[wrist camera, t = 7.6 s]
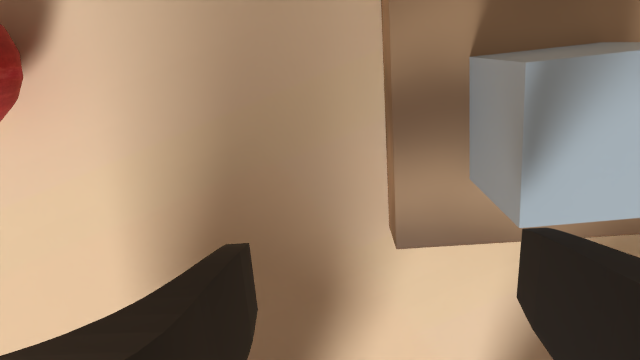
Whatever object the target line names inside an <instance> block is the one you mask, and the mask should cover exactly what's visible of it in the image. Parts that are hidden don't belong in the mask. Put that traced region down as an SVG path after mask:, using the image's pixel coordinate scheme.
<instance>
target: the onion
mask: <svg viewBox="0 0 640 360" xmlns="http://www.w3.org/2000/svg"><path fill="white" fill-rule="evenodd" d="M22 80H23V73H22V66H21V60H20V53H19V51H18V49H17V47H16V46H15V44H14V42H13V41H12V39H11V37H10V36H9V34H8V32H7V31H6V29H5V27H3V26H2V25H1V24H0V121H1V120H2V119H3V118H4V116H5V115H6V114H7V113H8V111H9V110H10V109H11V108H12V107H13V105H14V104H15V102H16V101H17V99H18V96H19V92H20V88H21V84H22Z"/></svg>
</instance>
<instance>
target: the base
mask: <svg viewBox="0 0 640 360" xmlns="http://www.w3.org/2000/svg"><path fill="white" fill-rule="evenodd" d="M381 7H382V35H383V63H384V91H385V120H386V148H387V176H388V204H389V227H390V230H391V233H392V236H393V240H394V243H395V246H396V249H407V248H423V247H439V246H455V245H472V244H488V243H504V242H520V241H521V239H522V229H526V228H519V227H518V226H517V225H516V224H515V223H514V222H513V221H512V220H511V219H510V218H509V217H508V216H507V215H505V214H504V213H503V212H502V211H501V210H500V209H499V208H498V207H497V206H496V205H495V204H494V203H493V202H492V201H491V200H490V199H489V198H488V197H487V196H486V195H485V194H484V193H483V192H482V191H481V190H480V189H479V188H478V187H477V186H476V185H475V184H474V183H473V182H472V181H471V180H470V61H469V57H473V56H482V55H491V54H501V53H510V52H519V51H528V50H537V49H546V48H555V47H564V46H573V45H582V44H591V43H601V42H640V0H381ZM545 227H547V228H552V229H556V230H560V231H563V232H566V233H570V234H573V235H576V236H579V237H581V238H585V237H601V236H617V235H633V234H640V218H632V219H620V220H609V221H597V222H585V223H574V224H562V225H551V226H539V227H527V228H545Z"/></svg>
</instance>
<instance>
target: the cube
mask: <svg viewBox="0 0 640 360" xmlns="http://www.w3.org/2000/svg"><path fill="white" fill-rule="evenodd" d="M469 61H470V180H471V181H472V182H473V183H474V184H475V185H476V186H477V187H478V188H479V189H480V190H481V191H482V192H483V193H484V194H485V195H486V196H487V197H488V198H489V199H490V200H491V201H492V202H493V203H494V204H495V205H496V206H497V207H498V208H499V209H500V210H501V211H502V212H503V213H504V214H505V215H507V216H508V217H509V218H510V219H511V220H512V221H513V222H514V223H515V224H516V225H517V226H518V227H519V228H527V227H539V226H551V225H562V224H574V223H585V222H597V221H609V220H620V219H632V218H640V42H601V43H591V44H582V45H573V46H564V47H555V48H546V49H537V50H528V51H519V52H510V53H501V54H491V55H482V56H473V57H469Z"/></svg>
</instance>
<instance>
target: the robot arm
mask: <svg viewBox="0 0 640 360" xmlns="http://www.w3.org/2000/svg"><path fill="white" fill-rule="evenodd" d="M517 299H518V301H519V303H520V305H521V307H522V309H523V311H524V313H525V315H526V317H527V319H528V321H529V323H530V325H531V327H532V329H533V330H534V332H535V333H536V335H537V336H538V338H539V339H540V341H541V342H542V344H543V345H544V347H545V348H546V349H547V351H548V352H549V354H550V355H551V357H552V358H553V359H554V360H640V258H638V257H635V256H632V255H629V254H627V253H624V252H621V251H618V250H615V249H612V248H610V247H607V246H604V245H601V244H598V243H596V242H593V241H590V240H587V239H584V238H581V237H579V236H576V235H573V234H570V233H566V232H563V231H560V230H556V229H552V228H547V227H545V228H526V229H522V239H521V251H520V263H519V276H518V288H517ZM257 310H258V308H257V300H256V293H255V285H254V278H253V270H252V262H251V255H250V247H249V243H243V244H226V245H224V246H222V247H221V248H219V249H217V250H216V251H214V252H213V253H211V254H210V255H209V256H207V257H206V258H204V259H203V260H201V261H200V262H198V263H197V264H196V265H194V266H193V267H191V268H190V269H188V270H187V271H185V272H184V273H183V274H181V275H180V276H178V277H176V278H175V279H173V280H172V281H170V282H168V283H167V284H165V285H164V286H162V287H160V288H159V289H157V290H156V291H154V292H152V293H151V294H149V295H147V296H146V297H144V298H142V299H140V300H138V301H137V302H135V303H133V304H131V305H129V306H127V307H125V308H123V309H121V310H119V311H117V312H115V313H113V314H111V315H109V316H107V317H104V318H102V319H100V320H97V321H95V322H93V323H90V324H88V325H86V326H83V327H81V328H78V329H76V330H74V331H71V332H69V333H67V334H64V335H61V336H59V337H56V338H53V339H50V340H47V341H45V342H42V343H39V344H36V345H33V346H30V347H27V348H24V349H21V350H18V351H15V352H12V353H8V354H5V355H2V356H0V360H247V358H248V355H249V352H250V348H251V345H252V341H253V335H254V330H255V323H256V317H257Z"/></svg>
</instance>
